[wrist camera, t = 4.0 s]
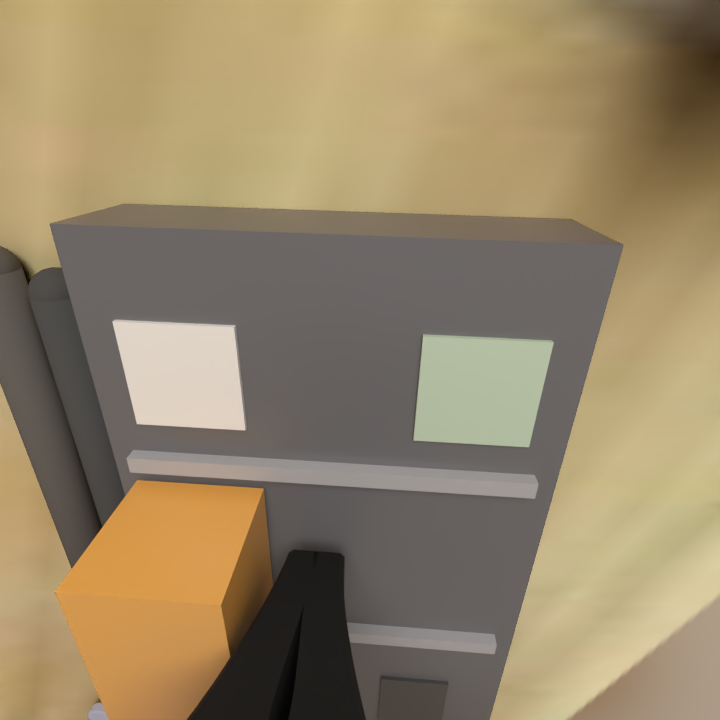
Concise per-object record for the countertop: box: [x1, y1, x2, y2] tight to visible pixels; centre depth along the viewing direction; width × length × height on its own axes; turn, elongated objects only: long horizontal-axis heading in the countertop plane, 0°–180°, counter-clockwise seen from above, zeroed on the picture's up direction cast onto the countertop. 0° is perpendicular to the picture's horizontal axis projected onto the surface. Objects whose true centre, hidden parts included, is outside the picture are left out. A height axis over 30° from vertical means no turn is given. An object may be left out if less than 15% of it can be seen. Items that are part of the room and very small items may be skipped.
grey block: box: [50, 204, 623, 720], centre depth 13 cm, size 17×10×3 cm, turn 179°
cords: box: [0, 246, 125, 568], centre depth 14 cm, size 16×3×1 cm, turn 179°
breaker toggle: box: [55, 480, 273, 720], centre depth 10 cm, size 4×3×3 cm
